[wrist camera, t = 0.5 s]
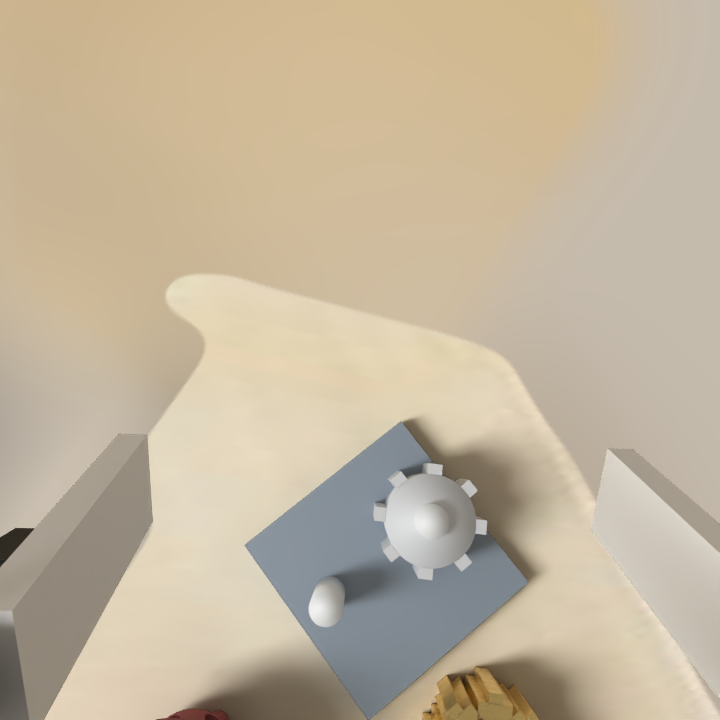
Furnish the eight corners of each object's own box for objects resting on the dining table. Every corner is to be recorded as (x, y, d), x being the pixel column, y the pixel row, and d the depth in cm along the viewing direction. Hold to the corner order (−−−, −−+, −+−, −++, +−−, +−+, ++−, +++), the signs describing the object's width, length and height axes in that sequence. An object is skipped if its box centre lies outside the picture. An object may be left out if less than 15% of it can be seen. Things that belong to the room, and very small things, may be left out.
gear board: (530, 572, 44) (561, 591, 37) (368, 711, 42) (369, 759, 36) (406, 416, 47) (414, 408, 40) (248, 542, 45) (227, 556, 38)
